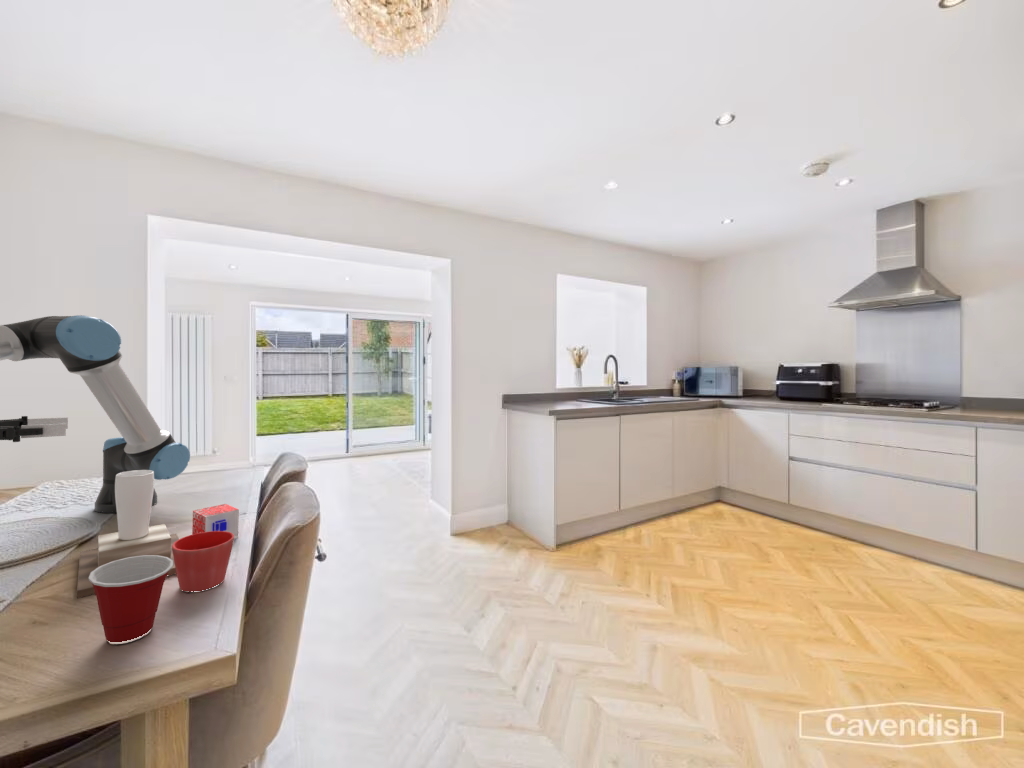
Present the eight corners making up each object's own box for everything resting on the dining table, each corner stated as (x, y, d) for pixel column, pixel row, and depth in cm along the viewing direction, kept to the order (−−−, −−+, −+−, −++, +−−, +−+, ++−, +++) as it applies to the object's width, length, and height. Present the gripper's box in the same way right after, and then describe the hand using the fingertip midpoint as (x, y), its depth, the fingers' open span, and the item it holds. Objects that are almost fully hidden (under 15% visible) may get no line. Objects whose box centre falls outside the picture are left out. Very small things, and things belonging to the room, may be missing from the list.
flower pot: (245, 577, 93) (246, 534, 93) (193, 602, 82) (194, 553, 82) (211, 568, 96) (212, 527, 96) (158, 591, 86) (159, 544, 86)
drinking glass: (160, 532, 100) (162, 470, 100) (132, 543, 93) (133, 477, 93) (135, 530, 100) (136, 468, 100) (105, 541, 94) (106, 475, 93)
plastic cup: (139, 655, 67) (140, 581, 66) (66, 656, 66) (68, 582, 66) (186, 616, 77) (188, 553, 77) (125, 617, 77) (126, 552, 76)
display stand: (79, 557, 99) (80, 531, 99) (176, 539, 112) (176, 515, 112) (76, 598, 82) (77, 565, 82) (190, 570, 95) (191, 542, 95)
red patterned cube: (224, 531, 119) (225, 503, 119) (238, 537, 114) (238, 509, 114) (191, 539, 112) (192, 510, 112) (204, 547, 108) (205, 516, 108)
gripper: (-72, 442, 92) (68, 435, 107) (-109, 462, 75) (64, 449, 90) (-72, 409, 92) (68, 406, 107) (-109, 421, 74) (64, 415, 90)
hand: (67, 426), depth 99 cm, fingers open, 13 cm apart
